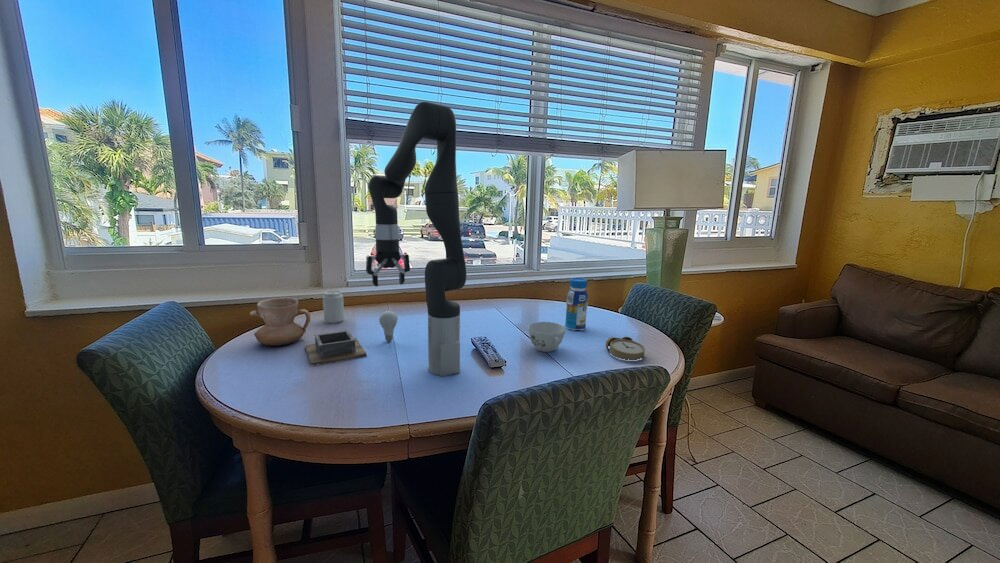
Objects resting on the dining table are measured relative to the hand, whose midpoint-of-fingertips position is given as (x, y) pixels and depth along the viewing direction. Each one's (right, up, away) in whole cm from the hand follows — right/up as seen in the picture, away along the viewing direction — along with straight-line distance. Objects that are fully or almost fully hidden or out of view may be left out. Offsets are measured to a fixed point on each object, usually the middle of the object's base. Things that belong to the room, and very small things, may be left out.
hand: (389, 285), depth 137 cm
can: (-28, -15, +24) cm, 40 cm away
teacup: (+54, -23, 0) cm, 59 cm away
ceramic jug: (-37, -20, +1) cm, 41 cm away
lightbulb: (-1, -20, +4) cm, 20 cm away
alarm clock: (+80, -24, -1) cm, 84 cm away
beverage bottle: (+68, -18, +24) cm, 75 cm away
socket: (-15, -22, -7) cm, 28 cm away
